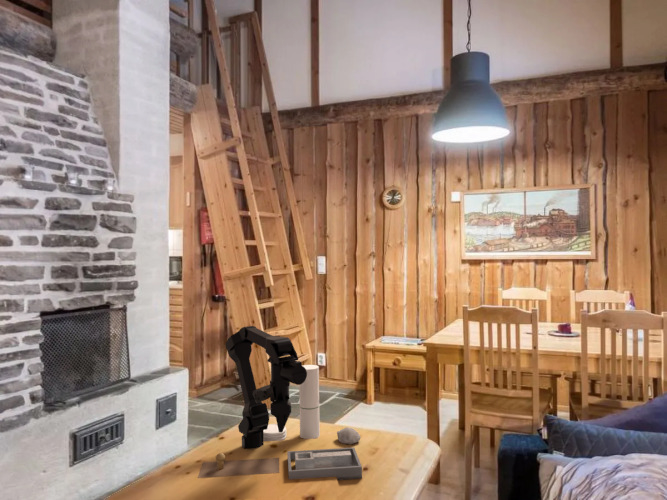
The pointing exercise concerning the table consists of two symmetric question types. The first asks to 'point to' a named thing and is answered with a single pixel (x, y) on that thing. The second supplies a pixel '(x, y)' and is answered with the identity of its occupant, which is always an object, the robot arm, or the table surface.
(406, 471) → the table surface
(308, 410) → the cylindrical container
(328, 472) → the tray
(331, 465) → the square nut with handle
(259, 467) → the stud board
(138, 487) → the table surface
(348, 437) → the pebble
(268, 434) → the white round stack
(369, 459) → the table surface
